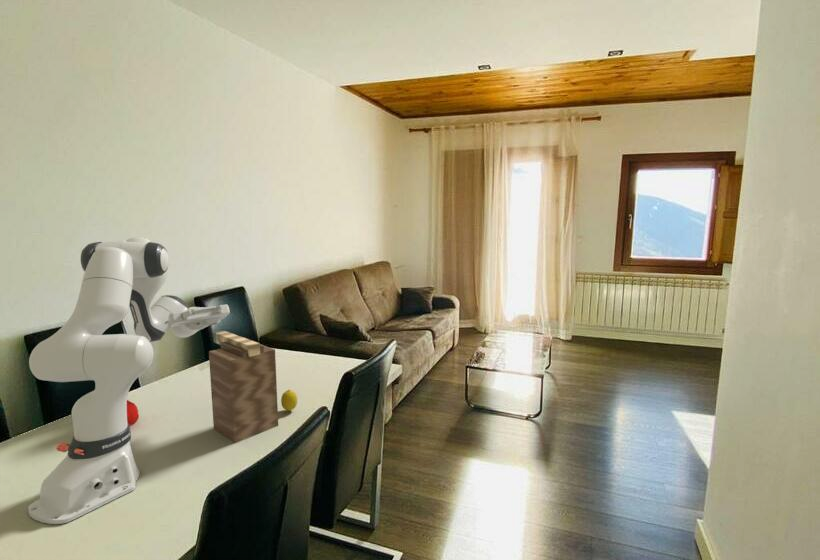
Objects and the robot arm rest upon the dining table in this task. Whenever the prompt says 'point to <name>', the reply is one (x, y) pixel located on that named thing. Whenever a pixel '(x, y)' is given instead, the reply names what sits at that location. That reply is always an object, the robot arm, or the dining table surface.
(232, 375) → the walnut mount
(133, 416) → the tomato
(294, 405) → the lemon
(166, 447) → the dining table surface
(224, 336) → the oak bar
